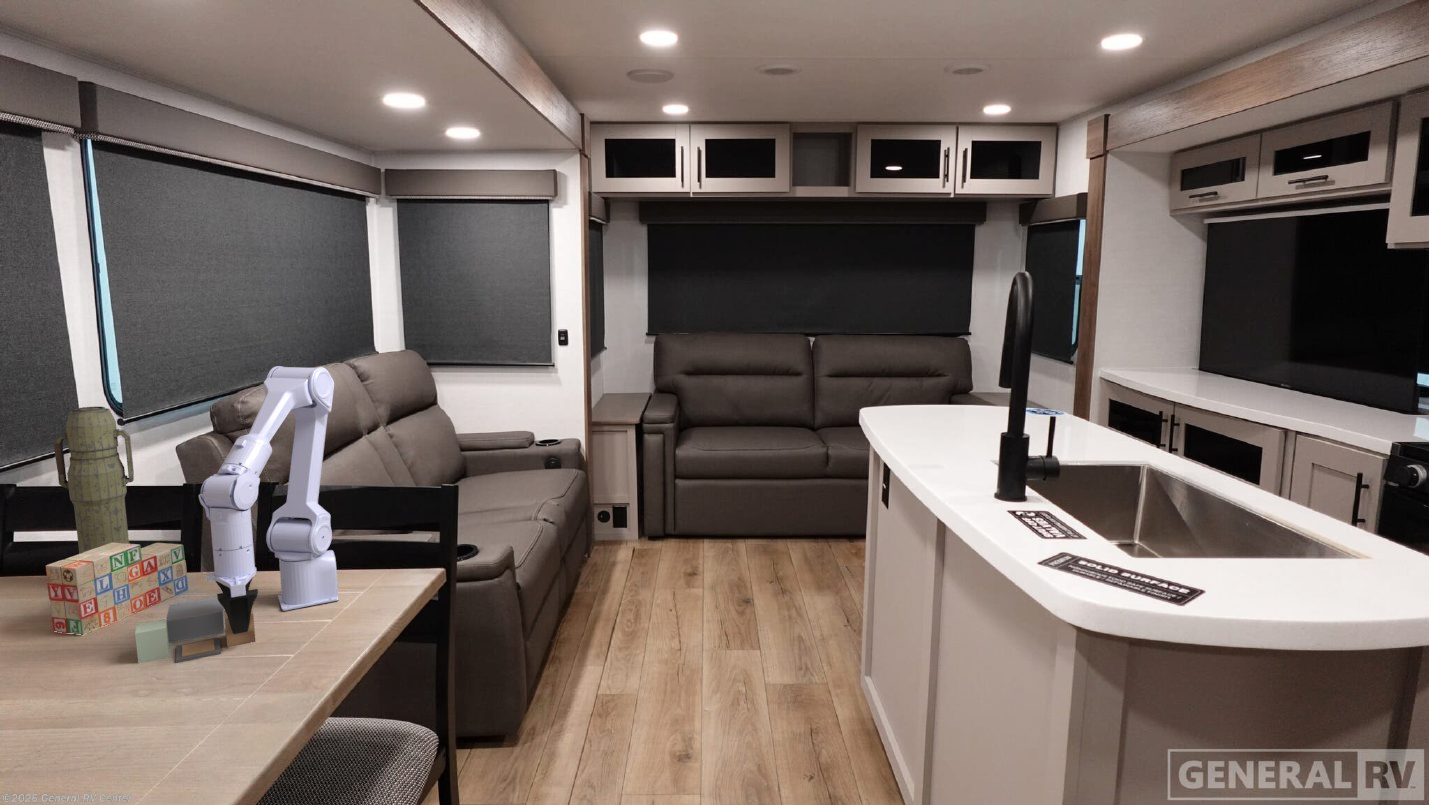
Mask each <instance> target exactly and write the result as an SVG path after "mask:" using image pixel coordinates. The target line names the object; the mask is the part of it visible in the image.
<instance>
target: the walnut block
mask: <svg viewBox="0 0 1429 805" xmlns="http://www.w3.org/2000/svg"><path fill="white" fill-rule="evenodd" d="M253 610H254V609H252V610H251V616H250V624H249V629H248V631H247V632H243V633H238V634H233V632H232V630H231V627H230V623H229V620H228V616H227V613H226V611H225V609H224V616H225V625H224V628H225V638H226V645H227V648H231V647H237V646H241V645H246V644H251V642H252V643H255V642H257V641H256V633H255V632H256V631H255V620H254V611H253Z"/></svg>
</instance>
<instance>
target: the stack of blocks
mask: <svg viewBox="0 0 1429 805" xmlns="http://www.w3.org/2000/svg"><path fill="white" fill-rule="evenodd" d="M185 559H186V556H185V549H184V545H183V544H179V543H164V542H155V543H152V544H150V545H147V546H144V547H141V544H135V543H130V544H123V543H109V544H106V545H104V546H101V547H98V548H95V549H92V550H89V551H86V552H83V553H82V554H79V553H78V554H75V555H73V556H69V557H67V558H65V559H61V560H58V561H55V562H52V563H48V564H47V565H45V572H46V578H47V579H46V580H47V583H46V584H47V592H48V593H47V594H48V599H49V604H50V612H51V622H52V628H53V630H52V631H53V632H54V631H57V632H62V633H74V634H81V635H84V634H85V633H88V632H89V631H92V630H93V629H95V628H99V627H101V626H105V625H107V624H110V623H111V622H115V621H117V622H119V621H120V620H119V619H122V620H124V619H126V618H128V617H130V616H129V615H131V616H132V615H134V614H133V613H135V612H136V613H139V612H141V611H143V610H145V609H147V608H149V606H150V607H152V606H154V605H156V604H158V603H160V602H163V601H166V600H167V599H170V598H172V597H174V596H177V595H179V594H181V593H183V591H184V592H186V591H189V585H188V576H187V574H188V573H187V563H186V560H185ZM151 605H152V606H151ZM140 610H141V611H140ZM136 613H135V614H136ZM127 616H128V617H127ZM125 617H126V618H125ZM123 618H124V619H123ZM118 620H119V621H118ZM115 623H116V622H115ZM110 625H111V624H110Z"/></svg>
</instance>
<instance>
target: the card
mask: <svg viewBox="0 0 1429 805" xmlns="http://www.w3.org/2000/svg"><path fill="white" fill-rule="evenodd" d="M220 640H221V639H220V637H215V638H214V637H213V638H210V639H209V638H208V639H204V640H200V641H199V640H198V641H195V642H190V643H189V642H188V643H183V644H180V645H176V648H175V650H176V651H175V653H176V654H175V663H176V664H177V663H183V662H186V661H191V660H197V659H200V658H205V657H209V656H215V655H220V654H222V651H221V650H222V648H221V642H220Z"/></svg>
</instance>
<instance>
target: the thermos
mask: <svg viewBox="0 0 1429 805" xmlns="http://www.w3.org/2000/svg"><path fill="white" fill-rule="evenodd" d="M65 430H66V433H63V434H61V435H58V436H57V438H56V439H55V440H54V442H53V443H52V445H53V449H54V458H55V462H56V470H57V476H58V477H57V478H58V485H60V486H61V487H62V488H64V489H67V491H68V494H69V500H70V501H71V502H72V505H73V508H74V509H73V510H74V517H75V527H76V536H77V543H78V544H77V545H78V554H82V553H83V552H86V551H89V550H92V549H95V548H98V547H101V546H104V545H106V544H109V543H123V544H131V543H130V540H129V531H128V519H127V510H126V498H125V497H126V495H127V491H128V490H127V485H128V483H133V482H134V478H135V477H134V475H135V474H134V462H133V453H132V452H133V451H132V440H131V435H130V434H129V433H127V431H126V430H125V429H123V430H122V429H121V430H120V429H118V428H117V422H116V419H115V417H114V415H113V413H112V412H111V409H109V408H108V407H107V408H106V407H105V406H84V407H83V406H82V407H77V408H74V410H71V411H70V412H69V414H68V417H67V420H66V424H65ZM119 436H121V437H123V438H124V444H125V455H126V463H127V474H128V475H126V473H125V472H126V470H125V466H124V464H123V462H122V460H121V458H120V453H119V452H118V446H119V440H118V437H119ZM65 439H66V440H67V447H68V451H69V454H70V457H69V466H68V468H67V469H68V470H66V463H65V455H64V454H65V453H64V446H63V445H64V444H63V442H64V440H65Z"/></svg>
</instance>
